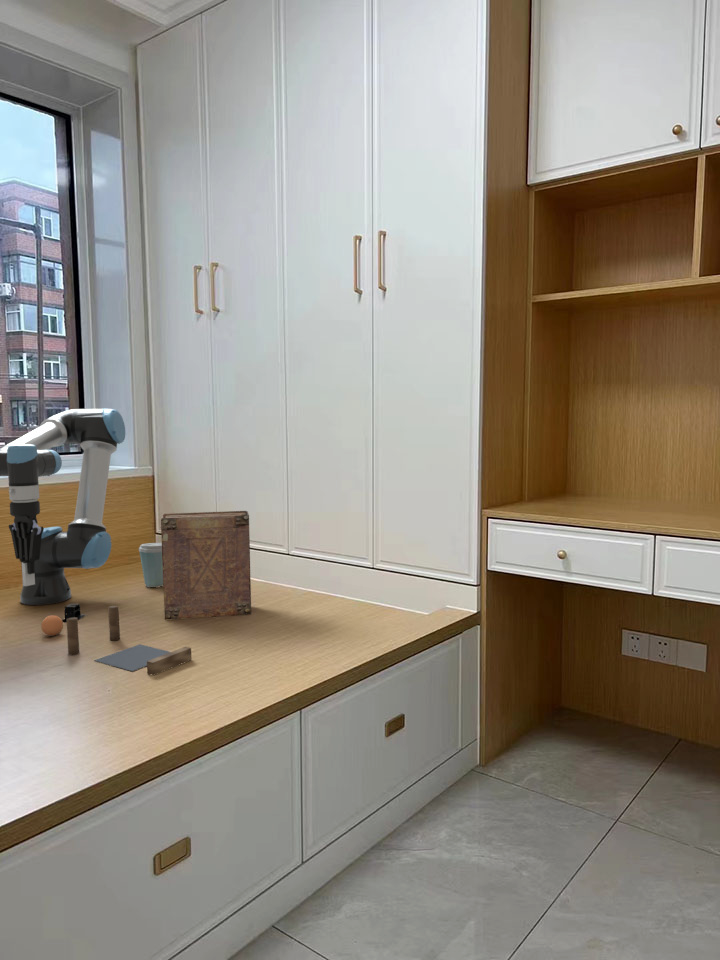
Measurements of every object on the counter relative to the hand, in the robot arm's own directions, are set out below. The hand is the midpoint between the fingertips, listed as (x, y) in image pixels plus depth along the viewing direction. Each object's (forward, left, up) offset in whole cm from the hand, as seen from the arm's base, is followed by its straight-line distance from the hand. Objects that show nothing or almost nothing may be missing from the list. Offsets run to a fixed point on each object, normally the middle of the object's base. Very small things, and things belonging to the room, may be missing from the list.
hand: (28, 584), depth 202 cm
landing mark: (0, +43, -13) cm, 45 cm away
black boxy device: (-13, 0, -14) cm, 19 cm away
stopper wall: (0, +55, -13) cm, 57 cm away
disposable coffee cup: (-53, -10, -13) cm, 56 cm away
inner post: (-7, +27, -13) cm, 31 cm away
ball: (0, +9, -10) cm, 14 cm away
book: (-38, +30, -13) cm, 51 cm away
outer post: (+6, +27, -13) cm, 31 cm away
